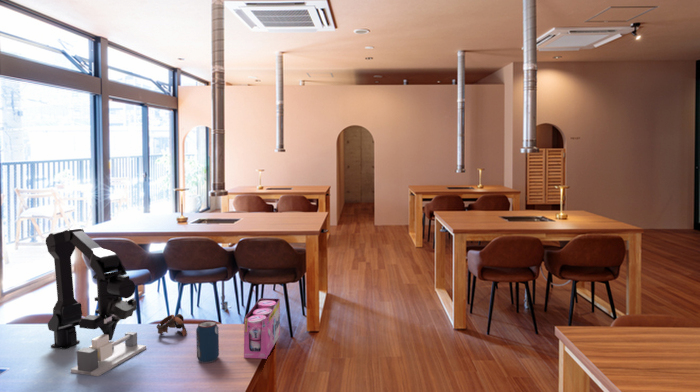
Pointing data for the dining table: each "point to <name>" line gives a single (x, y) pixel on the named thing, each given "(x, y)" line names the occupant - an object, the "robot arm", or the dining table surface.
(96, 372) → the slider rail board
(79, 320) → the robot arm
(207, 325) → the soda can
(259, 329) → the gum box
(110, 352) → the white slider block
